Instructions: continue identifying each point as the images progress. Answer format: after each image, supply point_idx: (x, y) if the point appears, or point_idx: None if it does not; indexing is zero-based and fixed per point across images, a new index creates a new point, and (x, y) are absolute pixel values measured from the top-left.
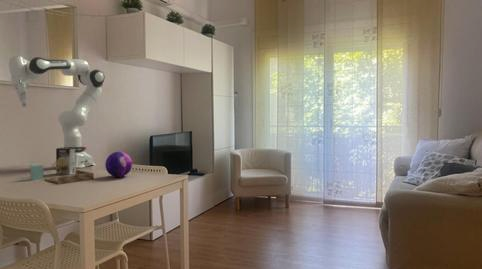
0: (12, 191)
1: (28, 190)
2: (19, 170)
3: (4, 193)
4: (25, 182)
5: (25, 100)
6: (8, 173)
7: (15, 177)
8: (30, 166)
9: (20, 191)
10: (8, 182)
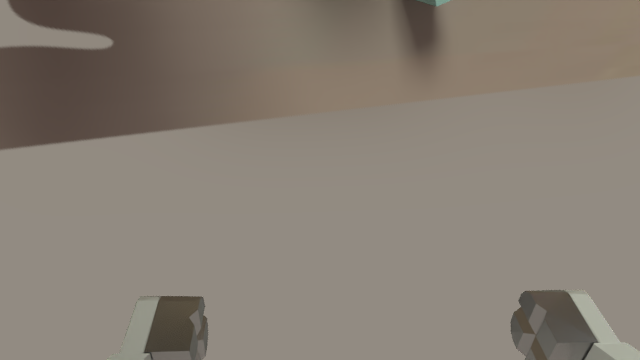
0: (610, 56)
1: (633, 4)
2: (17, 65)
3: (621, 77)
4: (470, 18)
5: (601, 316)
6: (140, 115)
7: (305, 68)
8: (433, 5)
9: (629, 31)
10: (428, 86)
